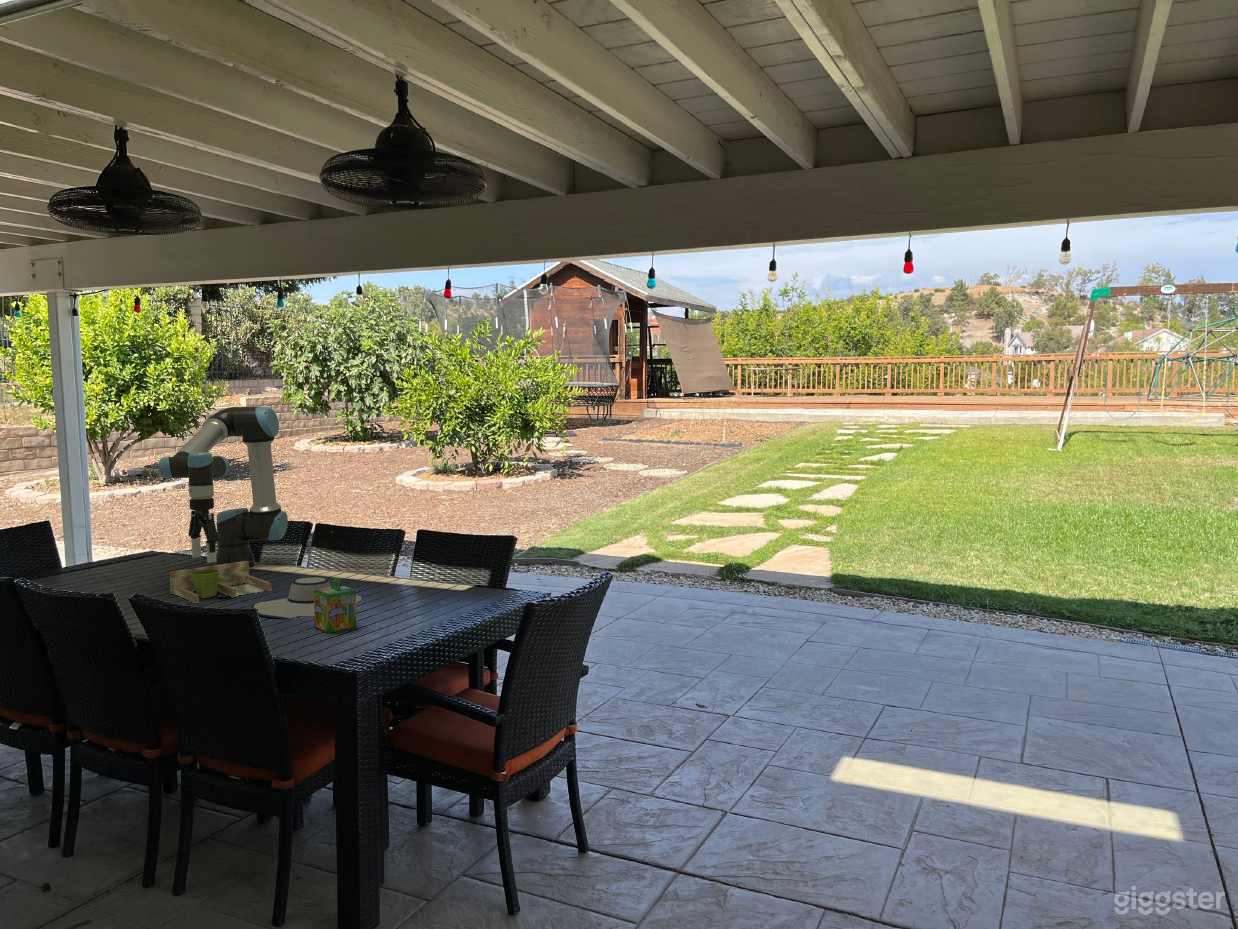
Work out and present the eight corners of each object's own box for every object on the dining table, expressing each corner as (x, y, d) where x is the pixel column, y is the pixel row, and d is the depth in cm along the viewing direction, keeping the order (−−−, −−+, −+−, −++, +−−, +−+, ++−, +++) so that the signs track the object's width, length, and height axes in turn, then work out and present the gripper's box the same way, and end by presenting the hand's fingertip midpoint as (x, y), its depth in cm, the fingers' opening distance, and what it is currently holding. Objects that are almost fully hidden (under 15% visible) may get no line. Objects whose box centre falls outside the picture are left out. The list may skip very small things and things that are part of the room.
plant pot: (189, 601, 290) (188, 575, 289) (192, 595, 298) (191, 570, 298) (220, 598, 293) (219, 573, 292) (222, 592, 302) (220, 568, 301)
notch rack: (248, 582, 318) (247, 560, 317) (273, 591, 303) (272, 568, 303) (170, 594, 299) (169, 572, 298) (193, 604, 284) (192, 580, 283)
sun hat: (255, 627, 259) (254, 597, 258) (247, 602, 291) (246, 575, 290) (378, 612, 275) (377, 584, 274) (357, 590, 307) (356, 564, 306)
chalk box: (313, 627, 255) (312, 578, 254) (342, 622, 261) (341, 573, 260) (328, 634, 248) (326, 583, 247) (357, 627, 255) (356, 578, 254)
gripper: (176, 496, 299) (179, 556, 300) (204, 501, 281) (206, 565, 283) (199, 494, 304) (201, 554, 306) (227, 499, 287) (230, 562, 288)
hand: (204, 559), depth 294 cm, fingers open, 13 cm apart
